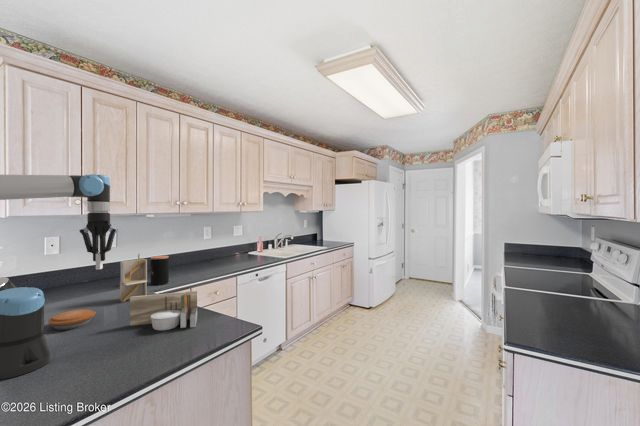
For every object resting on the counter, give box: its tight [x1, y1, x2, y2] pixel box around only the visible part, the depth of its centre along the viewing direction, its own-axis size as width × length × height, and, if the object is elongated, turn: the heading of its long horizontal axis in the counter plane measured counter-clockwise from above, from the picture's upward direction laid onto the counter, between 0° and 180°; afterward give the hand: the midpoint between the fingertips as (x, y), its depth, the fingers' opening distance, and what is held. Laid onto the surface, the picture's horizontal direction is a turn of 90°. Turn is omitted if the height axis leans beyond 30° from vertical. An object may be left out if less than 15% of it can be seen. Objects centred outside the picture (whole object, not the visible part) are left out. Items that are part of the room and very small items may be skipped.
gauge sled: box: [180, 294, 189, 329], centre depth 124 cm, size 10×2×11 cm, turn 19°
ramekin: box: [151, 310, 181, 331], centre depth 122 cm, size 11×11×5 cm
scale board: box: [129, 290, 198, 327], centre depth 127 cm, size 1×26×12 cm, turn 110°
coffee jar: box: [149, 255, 170, 286], centre depth 195 cm, size 11×11×18 cm
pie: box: [47, 308, 96, 331], centre depth 124 cm, size 15×16×5 cm
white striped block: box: [189, 307, 198, 328], centre depth 125 cm, size 10×2×5 cm, turn 20°
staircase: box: [119, 254, 148, 303], centre depth 159 cm, size 8×12×26 cm
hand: (99, 268), depth 122 cm, fingers closed
